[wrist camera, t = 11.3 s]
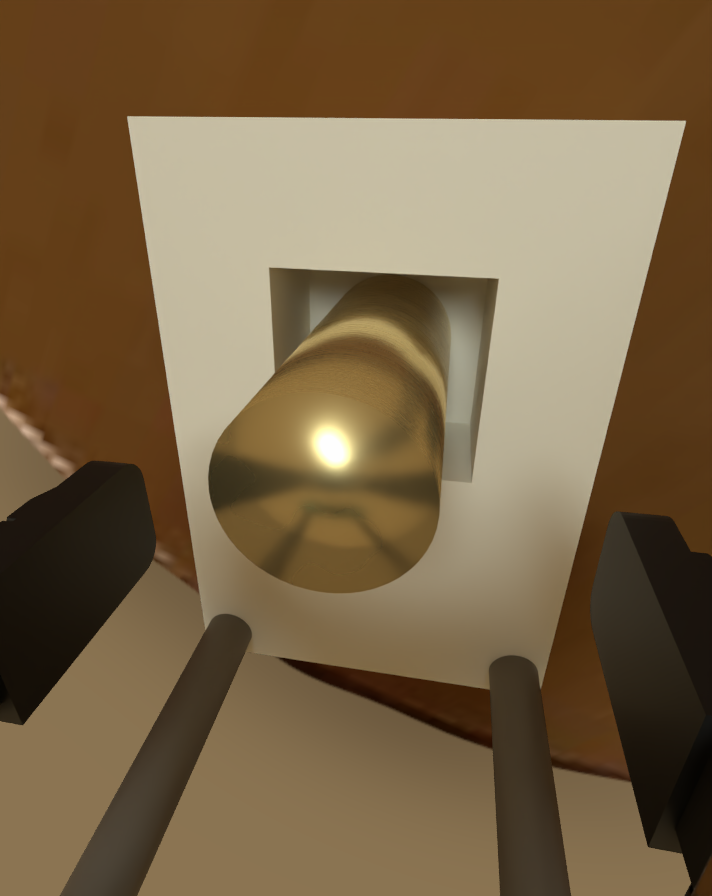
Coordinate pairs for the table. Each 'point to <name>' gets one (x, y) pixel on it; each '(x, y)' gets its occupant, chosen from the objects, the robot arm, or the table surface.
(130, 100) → the table surface
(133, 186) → the table surface
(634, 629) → the robot arm
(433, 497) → the brass peg
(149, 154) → the socket stand
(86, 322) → the table surface
